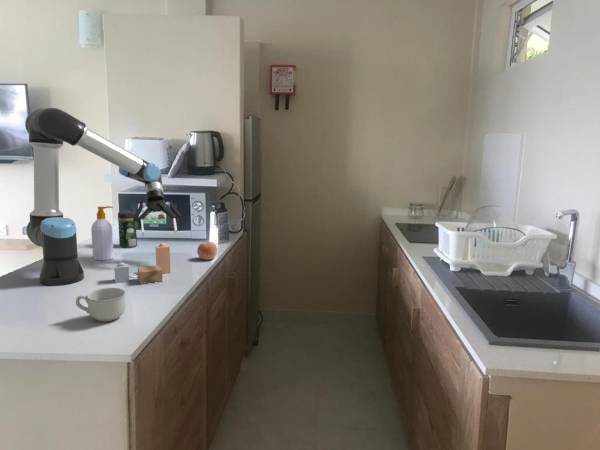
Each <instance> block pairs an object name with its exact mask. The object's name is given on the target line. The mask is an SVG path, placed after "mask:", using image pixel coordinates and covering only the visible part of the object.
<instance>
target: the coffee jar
mask: <svg viewBox="0 0 600 450" xmlns="http://www.w3.org/2000/svg"><path fill="white" fill-rule="evenodd" d="M135 213H136V212H134V211H132V210H129V209H123V210H122V209H121V210H120V211H118V213H117V224H118V242H119V244H118V245H119V246H120V247H122V248H125V249H126V248H128V249H131V248H135V247H137V246H138V241H137V240H138V237H137V236H138V235H137V224H136V223H137V222H134V221H133V217H134V215H135Z"/></svg>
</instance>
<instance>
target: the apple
mask: <svg viewBox="0 0 600 450" xmlns="http://www.w3.org/2000/svg"><path fill="white" fill-rule="evenodd" d="M196 249H197V252H196V253H197V254H198V257H199V258H200V259H201V260H203V261H211V260H213V259H215V258H216V257H217V253H218V247H217V244H215V242H211V241H209V242H207V241H205V242H202V243H200V244H199V245H198V247H197V248H196Z"/></svg>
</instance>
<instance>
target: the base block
mask: <svg viewBox="0 0 600 450" xmlns="http://www.w3.org/2000/svg"><path fill="white" fill-rule="evenodd" d="M137 271H138V277H137V280H138V282H139V284H140V285H149V284H148V283H152V284H156V283H155V282H161V283H163V274H162V269H161V268H160V266H159V265H156V264H155V265H146V266H137Z"/></svg>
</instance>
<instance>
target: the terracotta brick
mask: <svg viewBox="0 0 600 450" xmlns="http://www.w3.org/2000/svg"><path fill="white" fill-rule="evenodd" d="M170 247H171V246H170V245H169V243H168V244H166V243H164V242H161V243H159V244H155V265H159V266H160V268H161V269H162V275H163V274H166V273H167V274H171V253H170V252H171V251H170V249H171V248H170ZM167 274H166V275H167Z"/></svg>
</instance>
